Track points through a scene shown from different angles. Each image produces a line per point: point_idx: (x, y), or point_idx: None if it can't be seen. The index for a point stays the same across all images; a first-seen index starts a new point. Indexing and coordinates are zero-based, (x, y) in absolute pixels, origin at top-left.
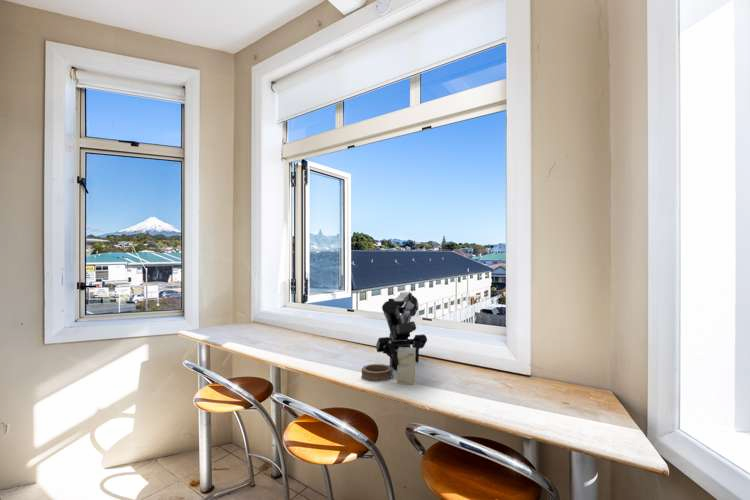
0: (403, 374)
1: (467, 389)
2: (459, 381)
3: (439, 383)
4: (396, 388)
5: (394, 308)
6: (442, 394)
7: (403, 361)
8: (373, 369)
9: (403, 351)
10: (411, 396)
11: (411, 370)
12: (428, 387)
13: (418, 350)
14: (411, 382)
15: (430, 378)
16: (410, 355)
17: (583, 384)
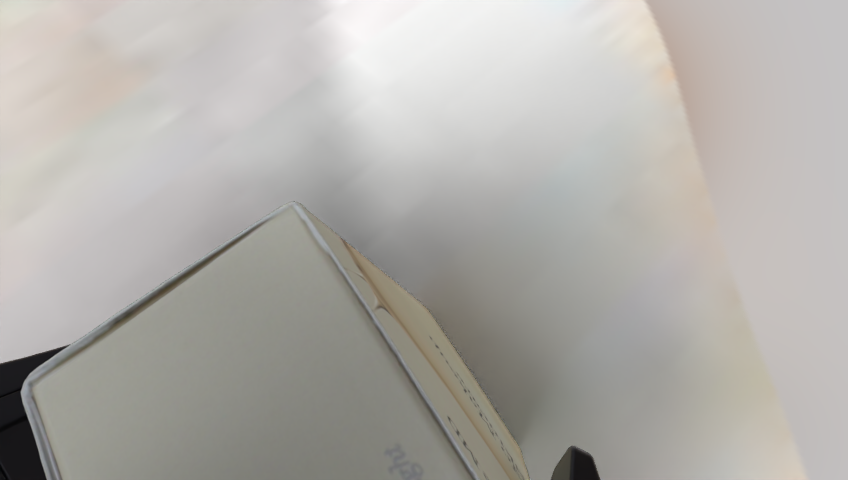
0: (481, 398)
1: (235, 4)
2: (121, 128)
3: (249, 192)
4: (616, 355)
5: None
6: (428, 36)
7: (477, 417)
8: None
9: (473, 451)
10: (640, 137)
11: (419, 311)
12: (384, 187)
13: (23, 362)
14: (436, 323)
15: None
16: (382, 294)
17: None
